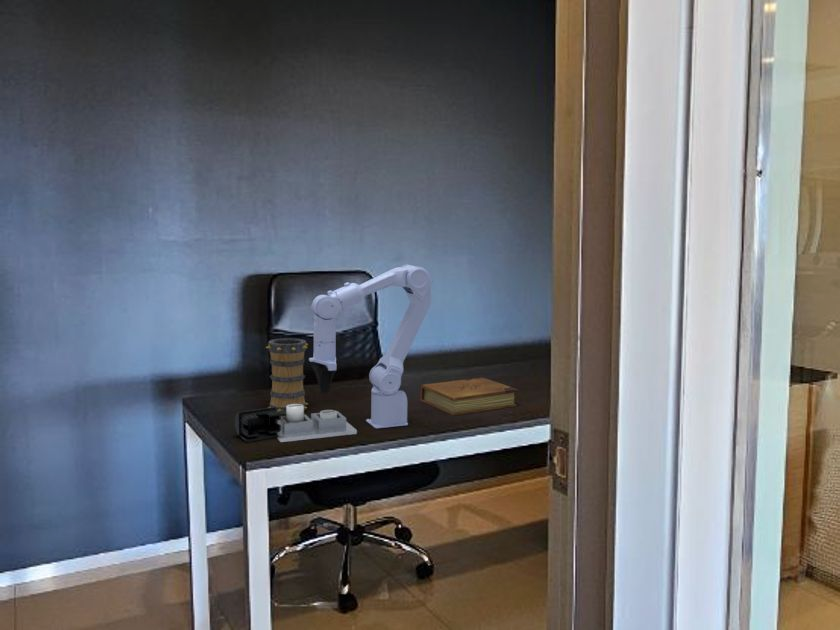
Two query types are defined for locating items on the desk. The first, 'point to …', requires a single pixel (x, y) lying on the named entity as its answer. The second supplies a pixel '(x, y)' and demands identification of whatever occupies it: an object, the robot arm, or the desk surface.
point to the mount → (314, 428)
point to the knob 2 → (328, 414)
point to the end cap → (257, 424)
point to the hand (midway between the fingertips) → (324, 392)
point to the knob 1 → (294, 413)
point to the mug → (287, 373)
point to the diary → (468, 395)
